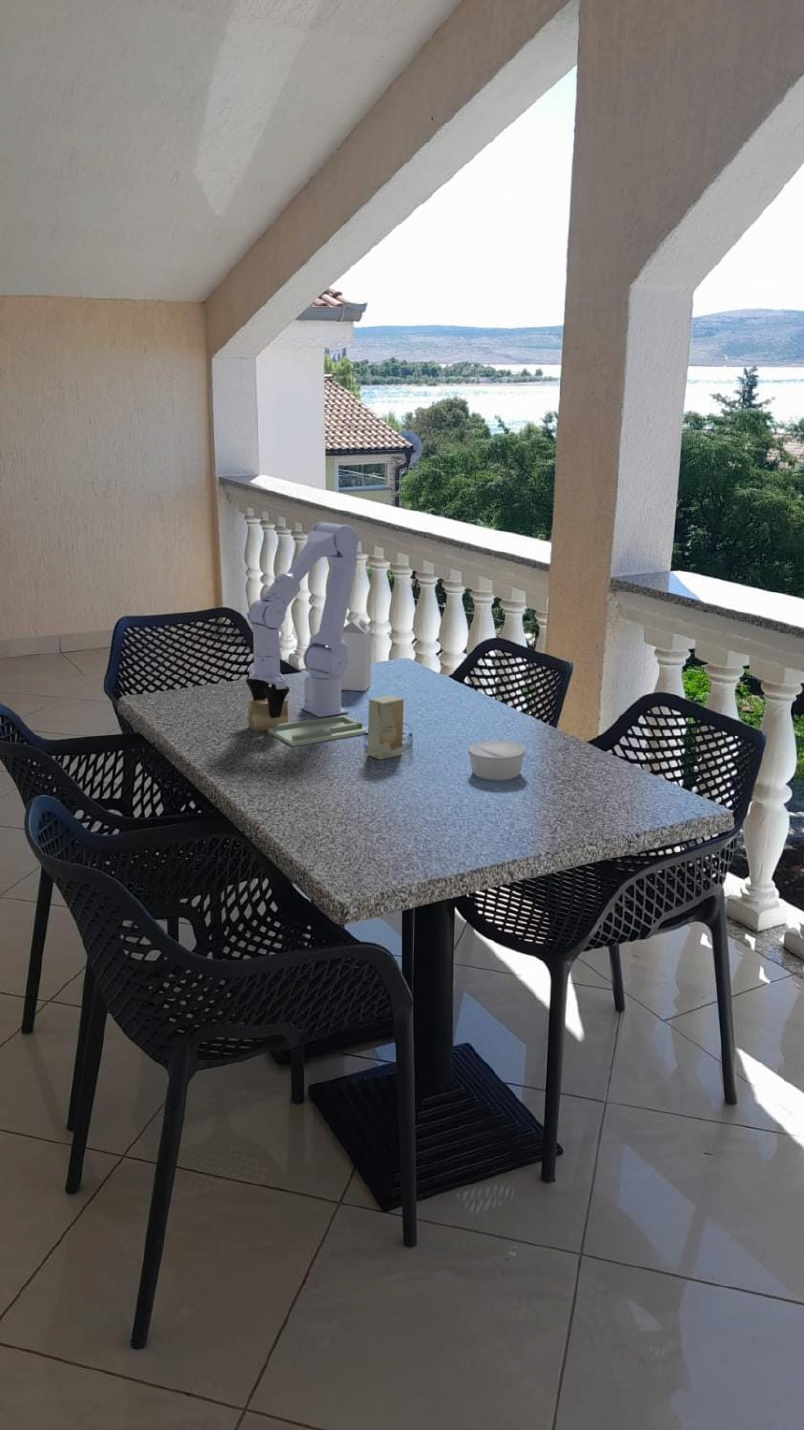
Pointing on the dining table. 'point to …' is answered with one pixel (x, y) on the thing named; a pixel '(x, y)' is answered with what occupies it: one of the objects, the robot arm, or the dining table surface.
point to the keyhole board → (317, 730)
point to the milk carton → (357, 655)
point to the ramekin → (496, 760)
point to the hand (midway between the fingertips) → (267, 713)
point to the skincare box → (385, 727)
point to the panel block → (265, 715)
